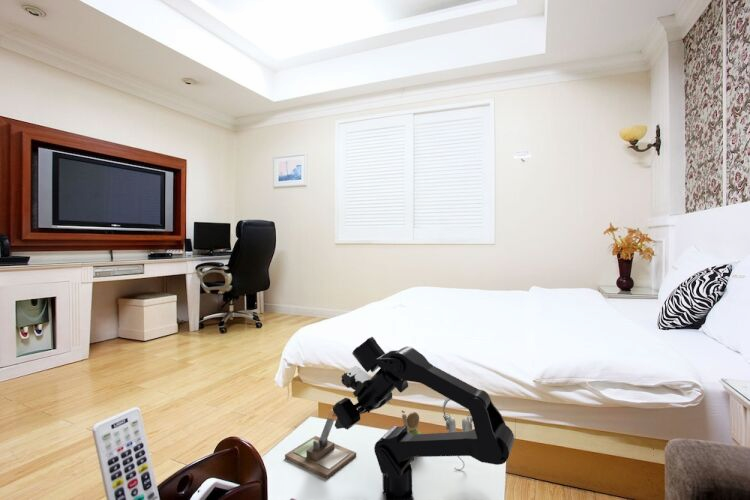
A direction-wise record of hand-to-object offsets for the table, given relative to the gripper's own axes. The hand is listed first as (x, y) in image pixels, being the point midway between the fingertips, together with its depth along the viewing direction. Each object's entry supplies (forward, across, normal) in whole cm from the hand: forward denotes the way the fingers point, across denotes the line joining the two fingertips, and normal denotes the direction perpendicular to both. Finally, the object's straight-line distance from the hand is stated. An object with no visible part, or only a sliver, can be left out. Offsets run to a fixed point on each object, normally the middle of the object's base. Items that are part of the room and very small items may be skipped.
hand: (347, 419), depth 96 cm
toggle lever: (+15, 0, 0) cm, 15 cm away
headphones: (-7, -16, +27) cm, 32 cm away
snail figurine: (+4, -18, +16) cm, 24 cm away
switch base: (+17, 0, +2) cm, 17 cm away
